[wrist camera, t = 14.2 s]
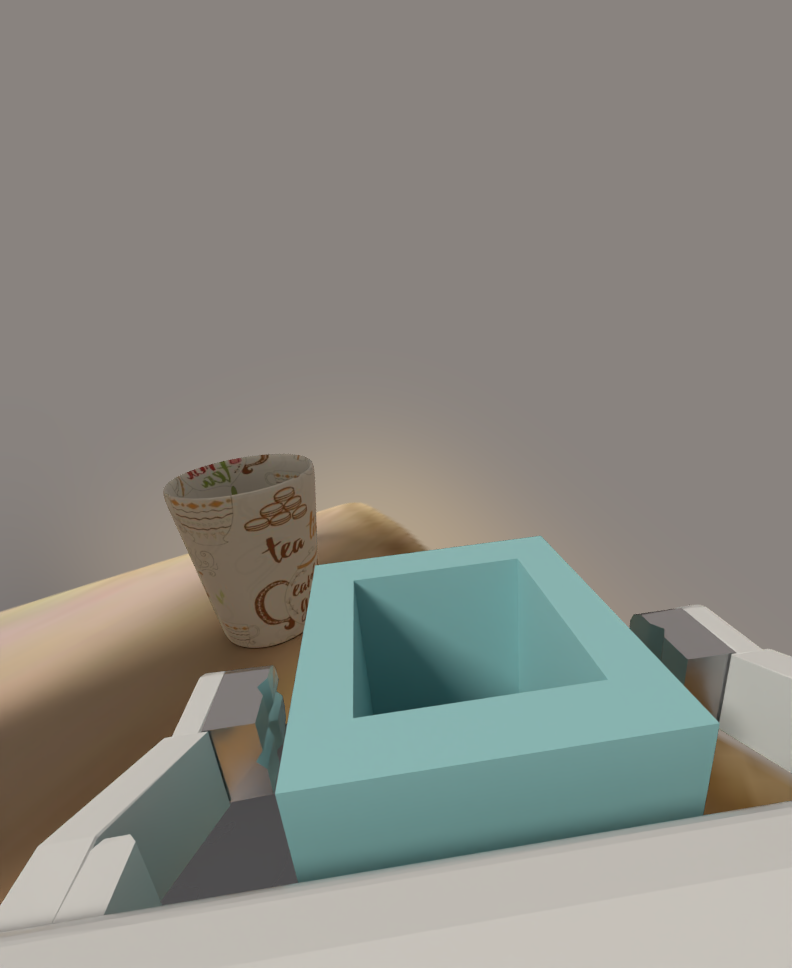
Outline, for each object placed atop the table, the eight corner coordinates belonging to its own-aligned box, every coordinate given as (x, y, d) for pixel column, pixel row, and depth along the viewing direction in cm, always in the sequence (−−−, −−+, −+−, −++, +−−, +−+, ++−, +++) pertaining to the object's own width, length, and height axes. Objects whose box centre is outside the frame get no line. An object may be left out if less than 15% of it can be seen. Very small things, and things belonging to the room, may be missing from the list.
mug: (230, 686, 23) (182, 512, 20) (176, 594, 33) (138, 467, 29) (361, 616, 28) (338, 466, 24) (280, 554, 37) (256, 440, 34)
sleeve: (653, 1089, 9) (720, 723, 6) (368, 1148, 9) (274, 794, 6) (538, 801, 15) (541, 535, 12) (362, 831, 14) (315, 565, 11)
